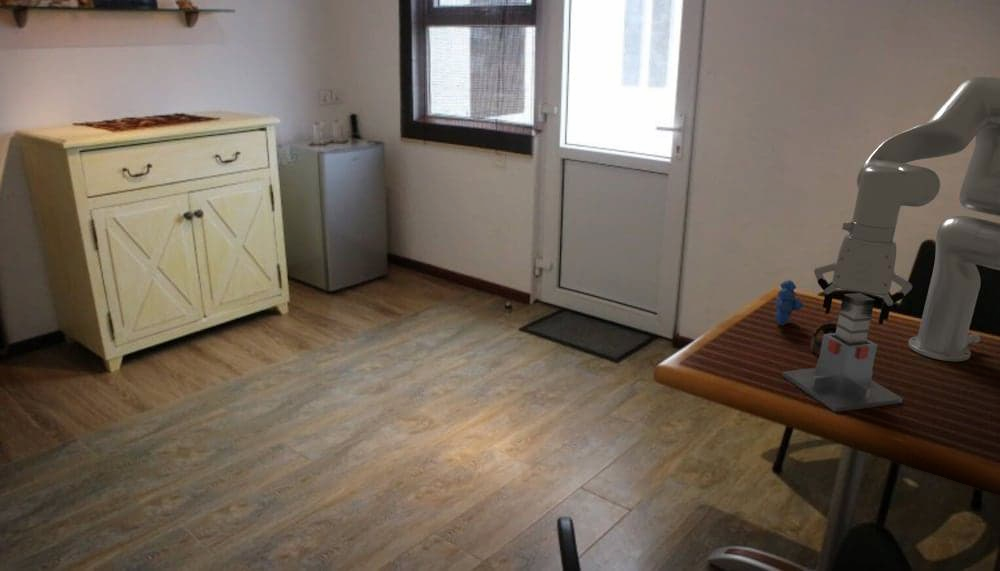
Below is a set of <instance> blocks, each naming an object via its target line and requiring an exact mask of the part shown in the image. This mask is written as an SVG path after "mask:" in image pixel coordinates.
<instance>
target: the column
mask: <svg viewBox="0 0 1000 571" xmlns="http://www.w3.org/2000/svg"><path fill="white" fill-rule="evenodd" d="M875 302H876V301H875V298H871V297H870V296H867V295H865V294H864V293H861V292H856V293H855V292H853V293H845V294H842V299H841V304H840V308H839V311H838V318H837V319H838V320H837V322H838V323H837V324H836V326H837V328H836V333H835V339H837V340H839V341H841V342H842V343H844V344H846V345H848V346H854V345H863V344H866V339H867V338H868V335H869V334H868V333H870V325H871V321H872V315H873V310H874V306H875V305H874V304H875ZM867 340H868V339H867Z"/></svg>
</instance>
